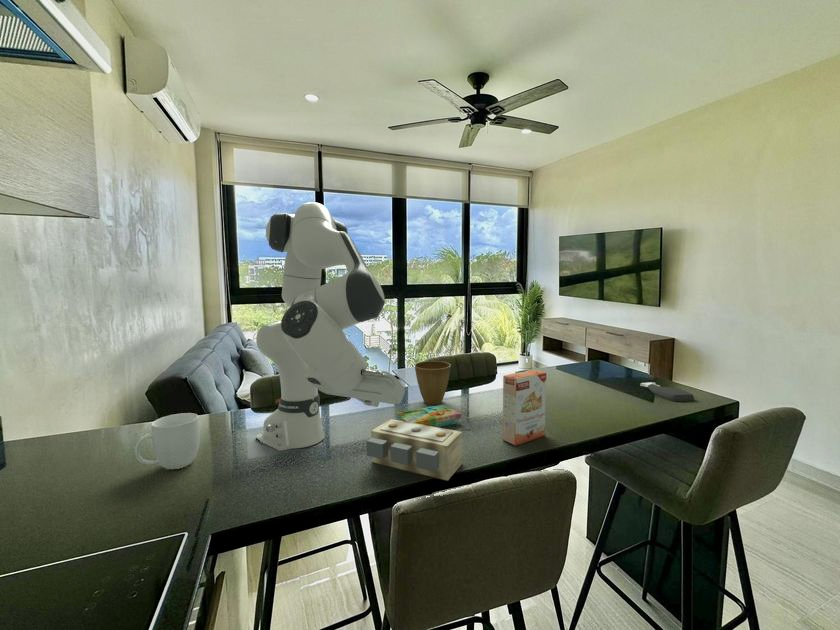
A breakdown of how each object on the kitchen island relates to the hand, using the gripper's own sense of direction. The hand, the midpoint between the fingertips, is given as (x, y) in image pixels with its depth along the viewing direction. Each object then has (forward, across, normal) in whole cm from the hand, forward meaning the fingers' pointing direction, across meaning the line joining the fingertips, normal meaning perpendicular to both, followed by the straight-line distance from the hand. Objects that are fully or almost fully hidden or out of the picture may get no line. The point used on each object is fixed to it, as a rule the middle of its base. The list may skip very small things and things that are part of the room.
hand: (373, 403), depth 83 cm
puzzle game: (+52, +11, -18) cm, 56 cm away
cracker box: (+53, -22, -19) cm, 60 cm away
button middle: (+23, +1, +4) cm, 23 cm away
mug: (+10, +61, +23) cm, 66 cm away
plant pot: (+67, +20, -34) cm, 78 cm away
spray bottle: (+106, -66, -72) cm, 144 cm away
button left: (+23, +8, +4) cm, 25 cm away
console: (+32, +1, +1) cm, 32 cm away
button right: (+23, -7, +4) cm, 24 cm away
